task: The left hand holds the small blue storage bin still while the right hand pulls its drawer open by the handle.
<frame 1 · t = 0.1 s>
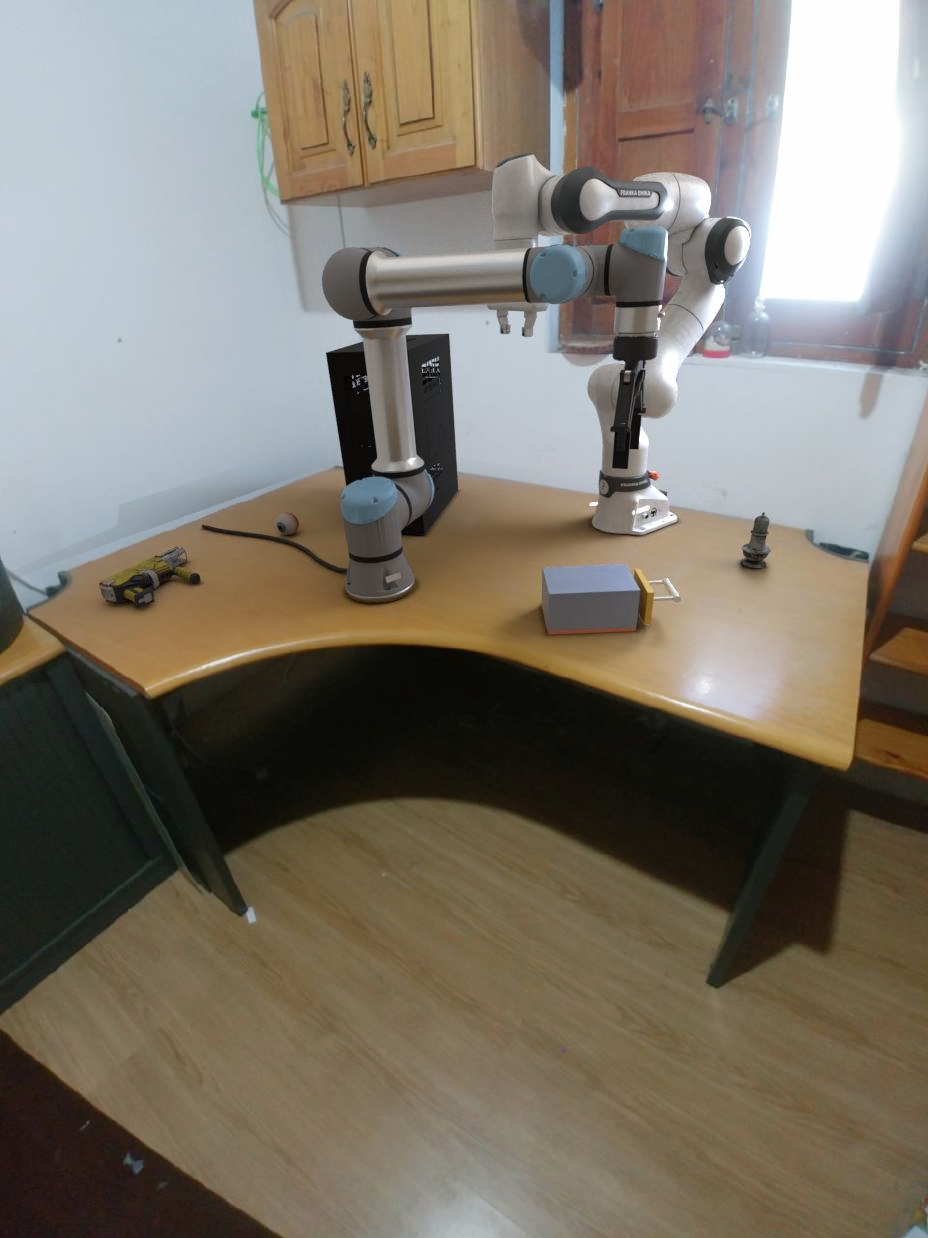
left hand: (625, 458, 114), 28 cm above the table, tool pointing down, fingers open, 13 cm apart
right hand: (516, 335, 125), 48 cm above the table, tool pointing down, fingers open, 8 cm apart
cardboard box: (409, 510, 177), on the table
eyeball: (289, 534, 165), on the table
toy gun: (166, 585, 141), on the table
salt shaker: (753, 563, 135), on the table
drawer: (619, 596, 116), point 4 cm above the table, slide at 1.6 cm
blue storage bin: (586, 617, 118), on the table
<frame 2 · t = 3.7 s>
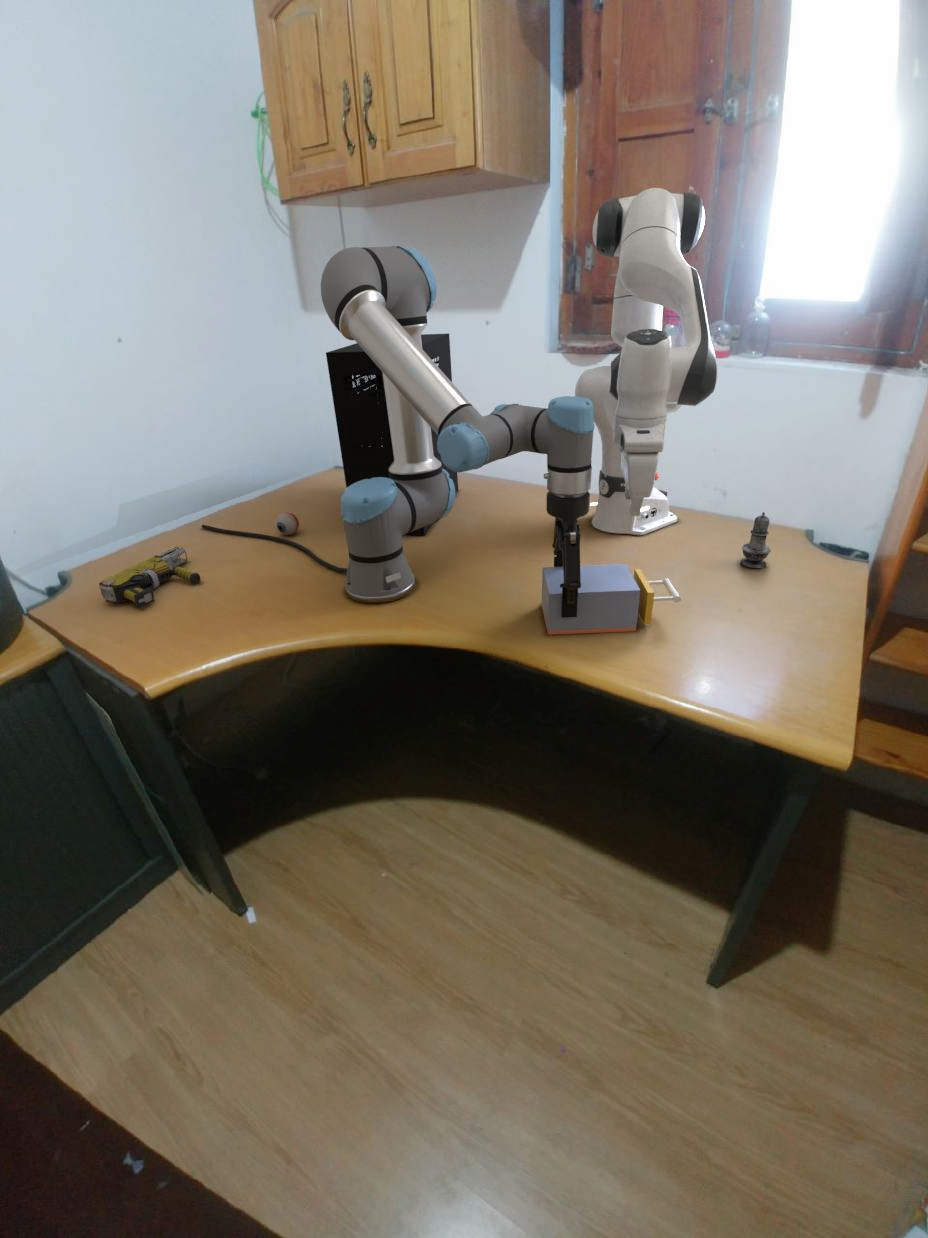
left hand: (564, 600, 116), 4 cm above the table, tool pointing down, fingers closed on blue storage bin, 11 cm apart
right hand: (632, 506, 114), 20 cm above the table, tool pointing down, fingers open, 8 cm apart
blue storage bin: (586, 617, 118), on the table, touching left hand
everything else where it was.
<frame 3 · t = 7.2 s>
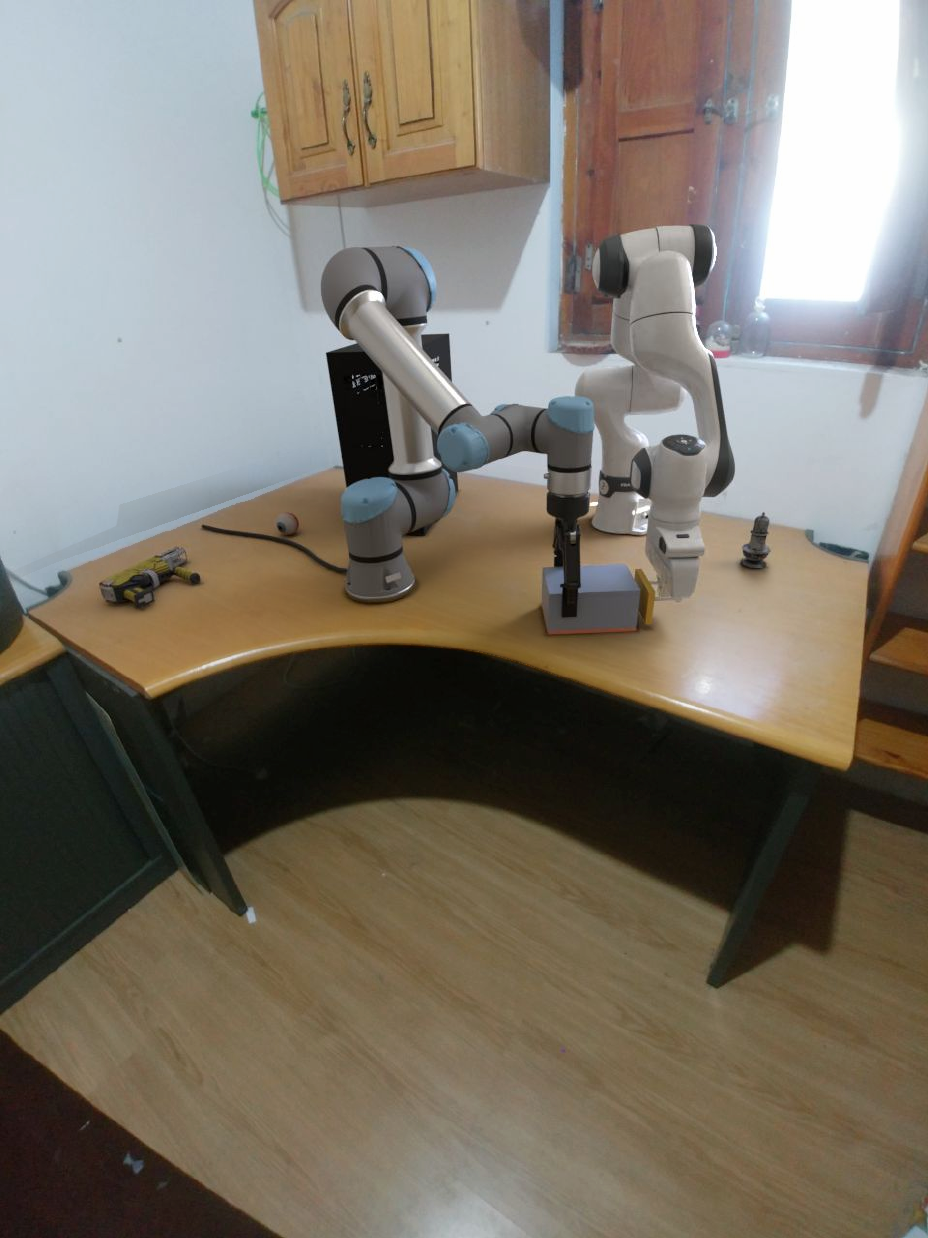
left hand: (564, 600, 116), 4 cm above the table, tool pointing down, fingers closed on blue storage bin, 11 cm apart
right hand: (663, 597, 116), 4 cm above the table, tool pointing down, fingers closed, pressing on drawer
drawer: (620, 596, 116), point 4 cm above the table, slide at 1.8 cm, touching right hand
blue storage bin: (586, 617, 118), on the table, touching left hand
everything else where it was.
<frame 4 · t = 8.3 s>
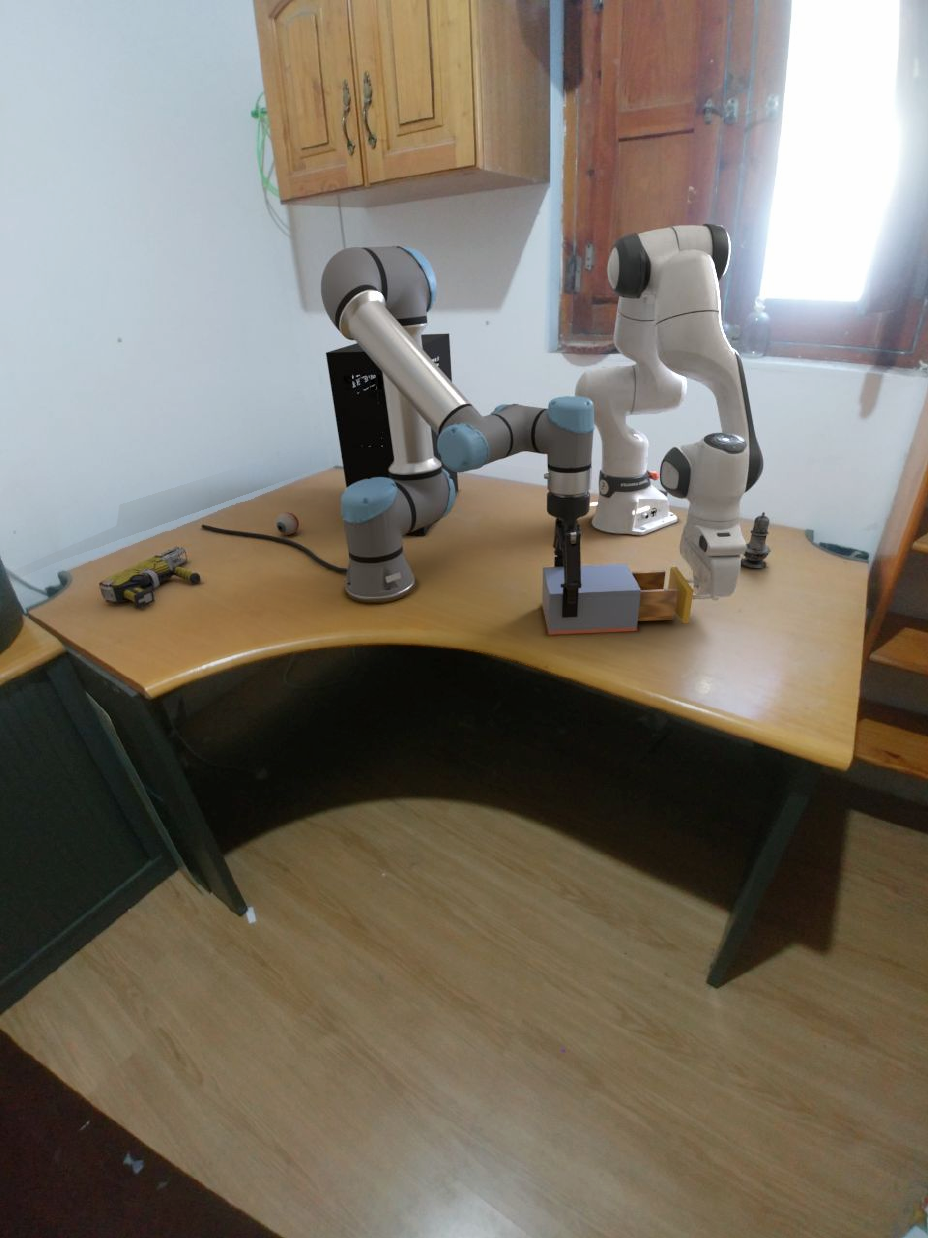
left hand: (565, 600, 116), 4 cm above the table, tool pointing down, fingers closed on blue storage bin, 11 cm apart
right hand: (699, 595, 116), 4 cm above the table, tool pointing down, fingers closed, pressing on drawer
drawer: (656, 595, 116), point 4 cm above the table, slide at 8.5 cm, touching right hand
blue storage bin: (587, 617, 118), on the table, touching left hand
everything else where it was.
when the left hand's fingers open (4 cm above the table, at t = 10.1 s): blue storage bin stays where it is, on the table.
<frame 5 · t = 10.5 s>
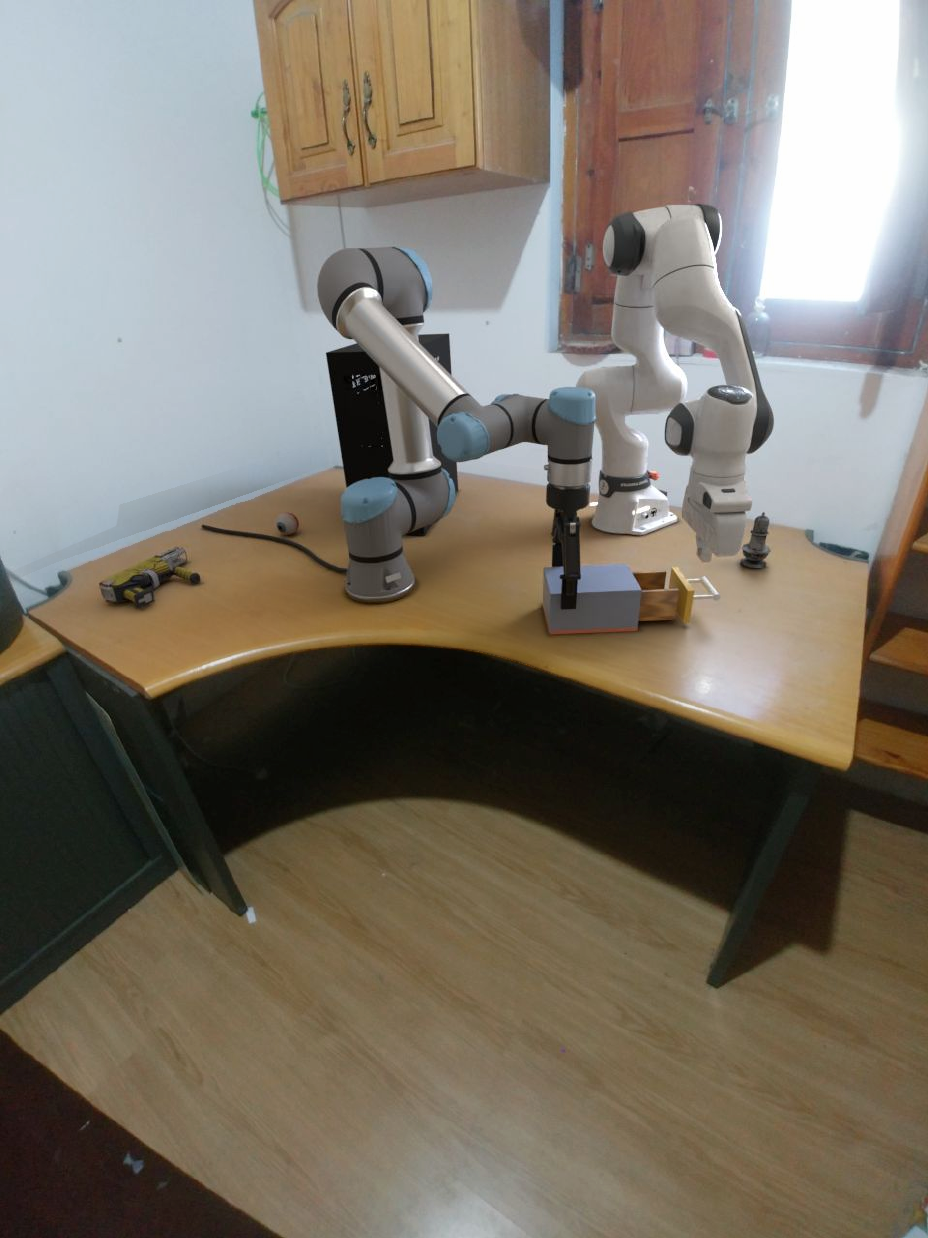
left hand: (563, 591, 116), 6 cm above the table, tool pointing down, fingers open, 13 cm apart
right hand: (703, 559, 112), 12 cm above the table, tool pointing down, fingers closed
drawer: (657, 595, 116), point 4 cm above the table, slide at 8.6 cm
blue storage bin: (588, 617, 118), on the table
everything else where it was.
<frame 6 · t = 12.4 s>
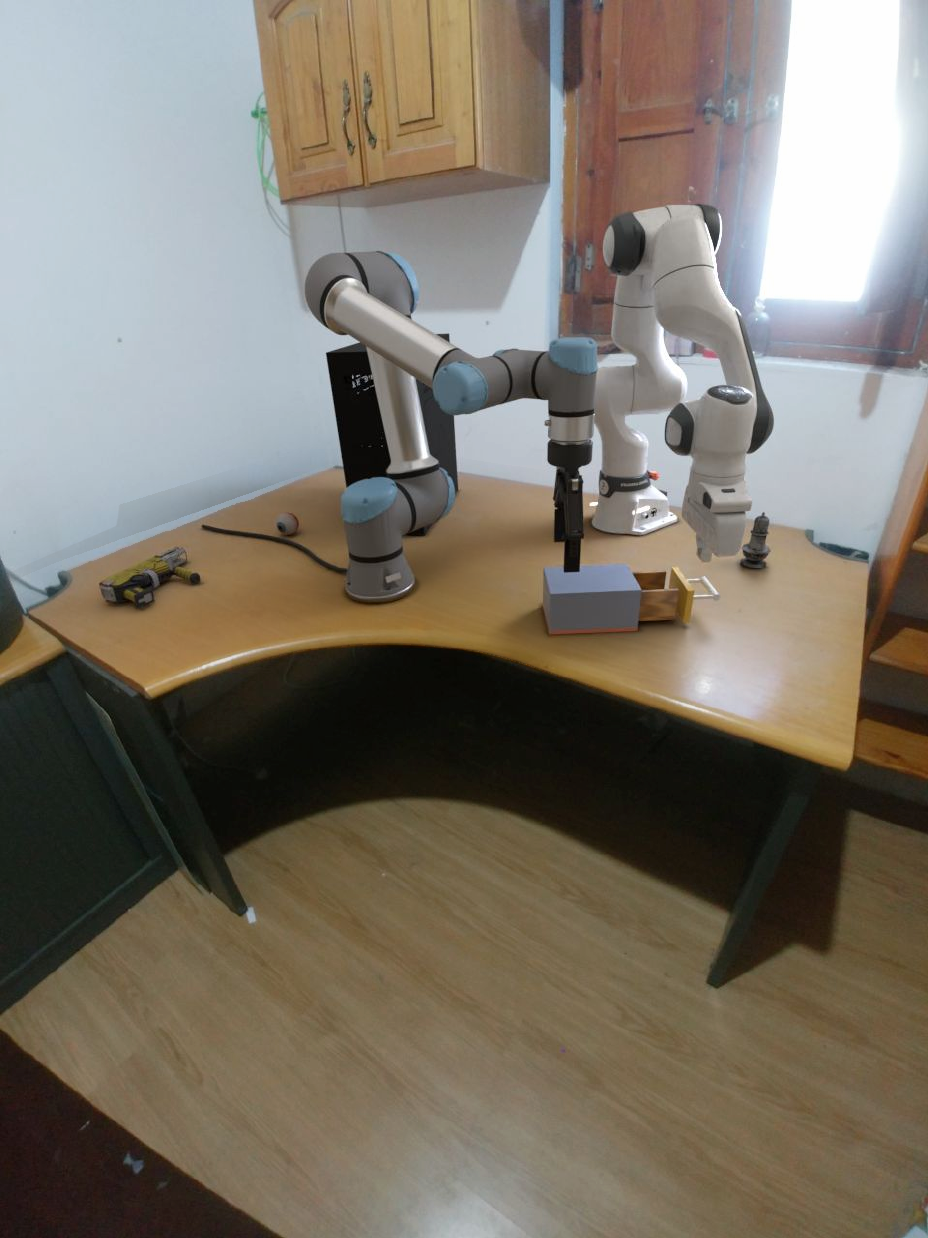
left hand: (565, 555, 112), 13 cm above the table, tool pointing down, fingers open, 13 cm apart
right hand: (703, 559, 112), 12 cm above the table, tool pointing down, fingers closed
nothing on the table moved.
at the end: drawer slide at 8.6 cm; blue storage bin tilted 0°; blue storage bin never tilted more than 2° during the clip; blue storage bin moved 0.2 cm from its start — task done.
